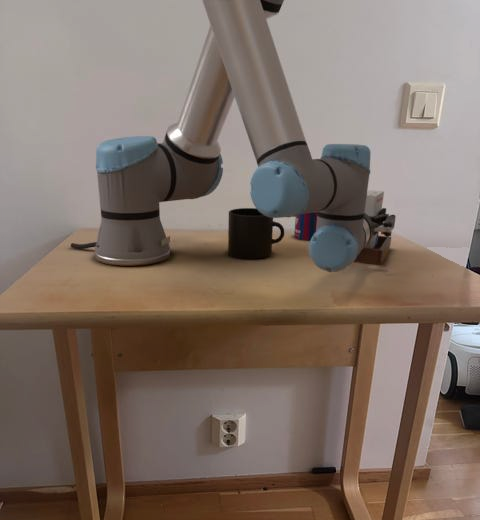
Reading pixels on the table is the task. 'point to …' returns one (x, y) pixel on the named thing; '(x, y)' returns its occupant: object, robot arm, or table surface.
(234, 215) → the mug
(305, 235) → the cup
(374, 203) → the ink box
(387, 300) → the table surface
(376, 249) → the wooden tray
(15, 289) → the table surface
